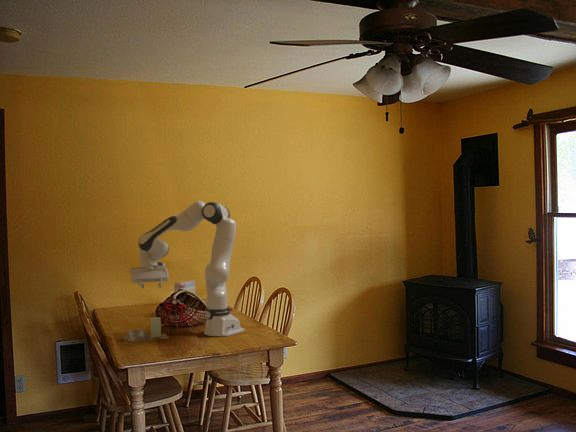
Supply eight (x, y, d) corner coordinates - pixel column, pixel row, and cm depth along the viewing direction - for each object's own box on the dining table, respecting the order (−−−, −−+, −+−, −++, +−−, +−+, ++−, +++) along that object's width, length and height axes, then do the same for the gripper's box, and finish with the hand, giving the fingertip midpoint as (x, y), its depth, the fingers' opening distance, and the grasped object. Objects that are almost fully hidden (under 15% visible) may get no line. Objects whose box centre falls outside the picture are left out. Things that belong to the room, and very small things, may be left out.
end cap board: (165, 336, 292) (165, 325, 292) (169, 341, 281) (169, 330, 280) (123, 340, 283) (122, 329, 283) (125, 345, 272) (125, 335, 272)
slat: (160, 336, 286) (160, 317, 285) (160, 336, 284) (160, 318, 284) (150, 337, 284) (150, 318, 284) (151, 337, 282) (150, 318, 282)
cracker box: (188, 311, 357) (188, 279, 356) (195, 312, 354) (195, 280, 353) (174, 315, 345) (173, 282, 344) (181, 316, 342) (180, 283, 341)
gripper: (130, 264, 296) (132, 284, 288) (167, 263, 305) (170, 282, 296) (128, 271, 301) (131, 291, 292) (165, 270, 309) (169, 289, 300)
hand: (151, 287), depth 294 cm, fingers open, 8 cm apart
